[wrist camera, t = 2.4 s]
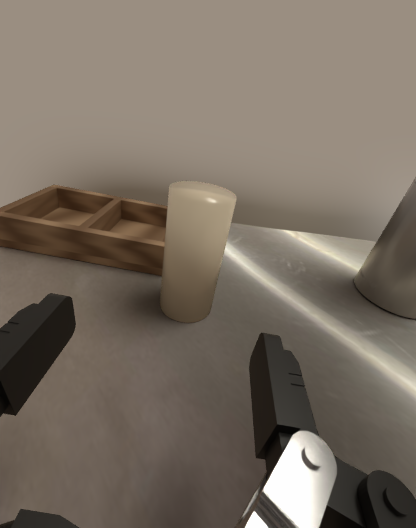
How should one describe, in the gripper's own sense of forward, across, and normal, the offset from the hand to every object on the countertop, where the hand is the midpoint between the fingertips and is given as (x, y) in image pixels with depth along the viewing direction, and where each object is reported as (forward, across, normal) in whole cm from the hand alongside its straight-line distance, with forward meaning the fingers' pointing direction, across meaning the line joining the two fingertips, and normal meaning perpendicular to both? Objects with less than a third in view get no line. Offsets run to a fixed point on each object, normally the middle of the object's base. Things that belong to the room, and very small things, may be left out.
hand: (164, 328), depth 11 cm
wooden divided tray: (+23, +13, +9) cm, 28 cm away
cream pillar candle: (+13, 0, +10) cm, 16 cm away
